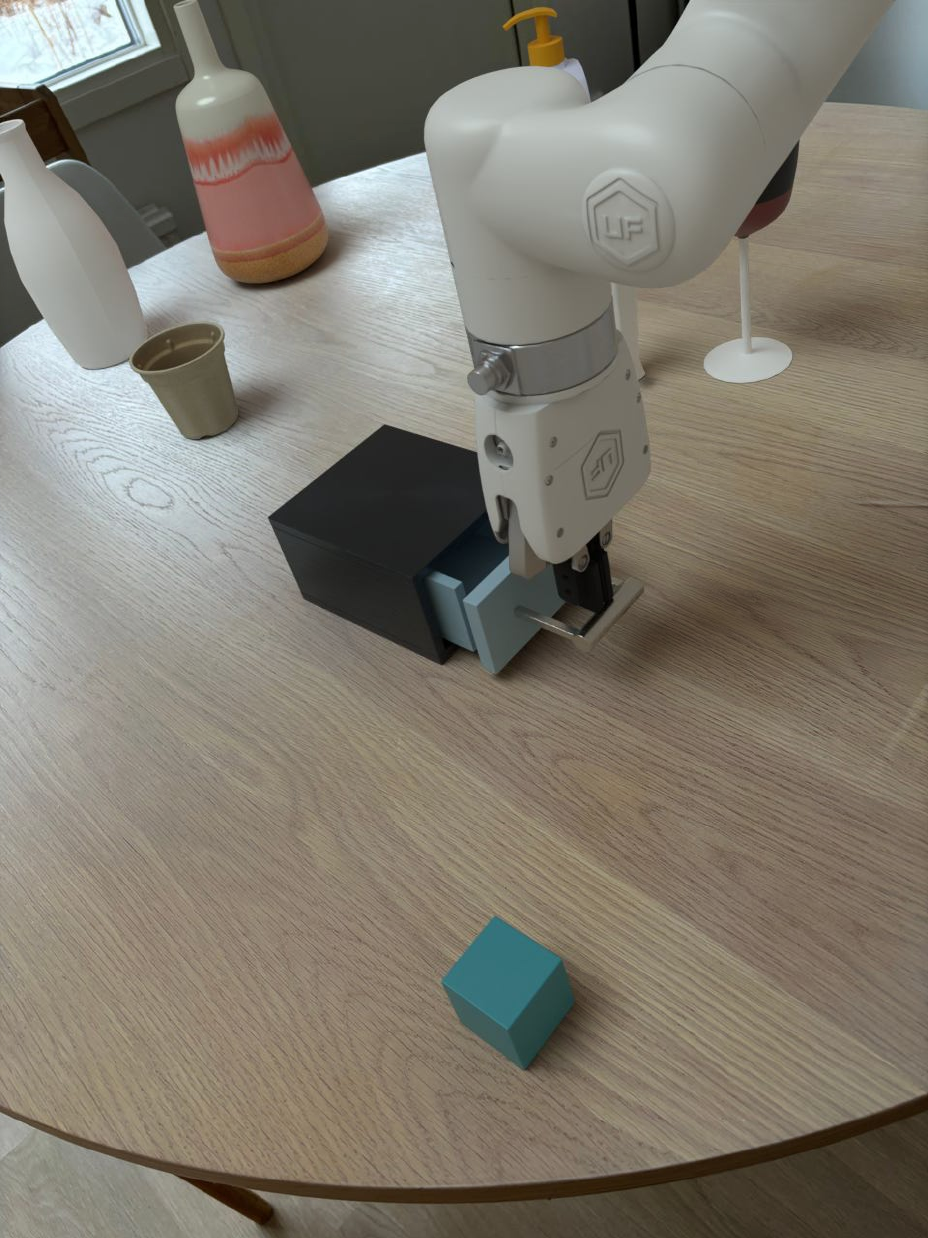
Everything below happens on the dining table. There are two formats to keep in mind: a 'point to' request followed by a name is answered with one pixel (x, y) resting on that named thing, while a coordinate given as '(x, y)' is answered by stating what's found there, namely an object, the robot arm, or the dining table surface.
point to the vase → (244, 168)
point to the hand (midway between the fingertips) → (586, 598)
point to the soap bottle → (548, 45)
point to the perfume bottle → (627, 320)
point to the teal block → (509, 991)
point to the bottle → (67, 258)
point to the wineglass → (748, 353)
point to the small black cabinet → (383, 533)
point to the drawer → (508, 602)
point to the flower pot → (189, 377)
